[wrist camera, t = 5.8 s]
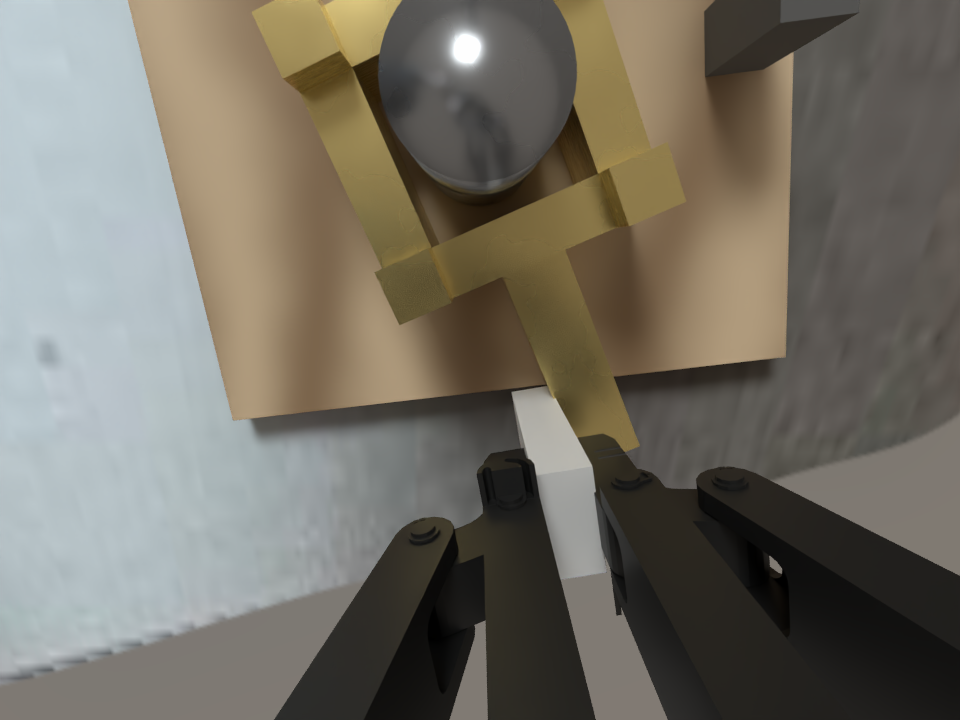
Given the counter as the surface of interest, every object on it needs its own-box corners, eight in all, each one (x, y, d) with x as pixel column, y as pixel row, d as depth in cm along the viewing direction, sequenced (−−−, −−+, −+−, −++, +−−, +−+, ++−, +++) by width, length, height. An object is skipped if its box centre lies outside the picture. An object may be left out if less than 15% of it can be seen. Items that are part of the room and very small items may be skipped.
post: (433, 214, 19) (395, 193, 11) (417, 102, 18) (362, -24, 10) (536, 201, 19) (583, 169, 10) (525, 87, 18) (569, -52, 9)
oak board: (246, 410, 21) (233, 420, 20) (125, -87, 17) (99, -112, 16) (768, 350, 21) (785, 356, 19) (777, -180, 16) (800, -212, 15)
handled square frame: (314, 75, 17) (251, 12, 12) (546, -39, 16) (574, -153, 11) (490, 458, 20) (493, 525, 15) (689, 379, 19) (756, 423, 15)
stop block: (705, 76, 17) (780, 23, 13) (704, 11, 17) (782, -68, 12) (763, 69, 17) (859, 12, 13) (764, 3, 17) (863, -79, 12)
